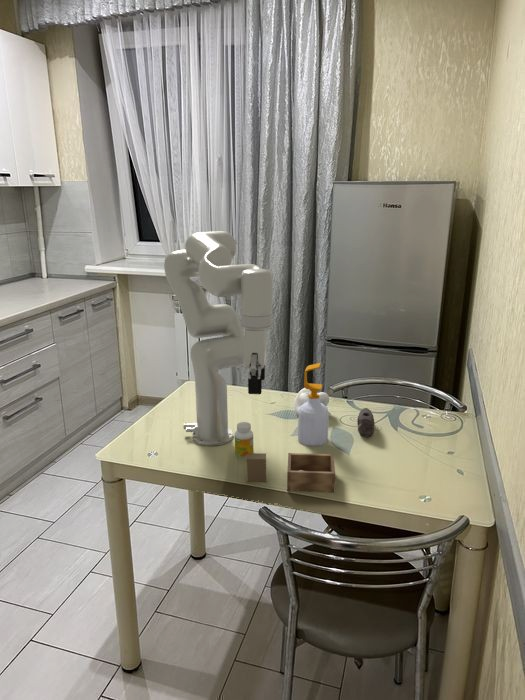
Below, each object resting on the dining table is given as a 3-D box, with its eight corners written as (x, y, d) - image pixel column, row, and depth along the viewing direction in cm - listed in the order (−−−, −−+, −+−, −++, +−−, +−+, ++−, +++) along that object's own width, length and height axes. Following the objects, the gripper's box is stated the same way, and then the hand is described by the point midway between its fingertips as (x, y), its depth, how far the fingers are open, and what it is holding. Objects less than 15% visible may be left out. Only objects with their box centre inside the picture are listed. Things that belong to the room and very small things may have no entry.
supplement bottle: (232, 458, 152) (231, 427, 149) (239, 449, 157) (238, 419, 154) (249, 461, 150) (249, 430, 147) (256, 452, 155) (255, 422, 152)
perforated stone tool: (357, 420, 176) (358, 401, 174) (373, 421, 176) (374, 402, 174) (356, 440, 162) (357, 419, 160) (374, 441, 161) (375, 421, 159)
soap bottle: (326, 448, 158) (328, 370, 150) (296, 445, 159) (297, 368, 152) (328, 435, 166) (331, 360, 159) (300, 432, 168) (301, 358, 161)
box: (287, 492, 134) (287, 471, 133) (288, 472, 144) (288, 452, 142) (334, 494, 134) (335, 473, 132) (332, 474, 143) (333, 454, 141)
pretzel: (285, 416, 180) (285, 391, 177) (306, 405, 189) (306, 382, 186) (312, 425, 173) (312, 400, 170) (332, 414, 182) (333, 389, 179)
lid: (231, 493, 135) (231, 466, 133) (234, 472, 145) (233, 446, 143) (281, 493, 135) (281, 466, 133) (280, 472, 145) (280, 446, 143)
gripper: (245, 312, 137) (245, 374, 142) (236, 329, 120) (237, 399, 125) (274, 312, 136) (273, 375, 141) (269, 330, 120) (269, 400, 125)
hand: (256, 386), depth 133 cm, fingers open, 9 cm apart
